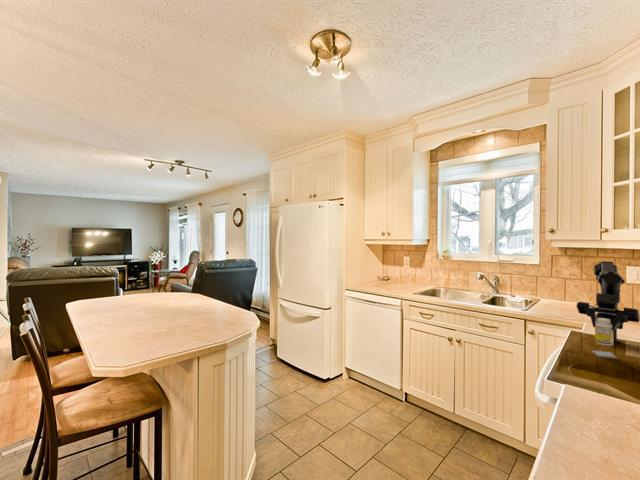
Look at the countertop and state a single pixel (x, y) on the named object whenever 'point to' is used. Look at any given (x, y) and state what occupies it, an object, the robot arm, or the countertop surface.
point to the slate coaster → (604, 354)
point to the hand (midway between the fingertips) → (603, 328)
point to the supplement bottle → (604, 332)
